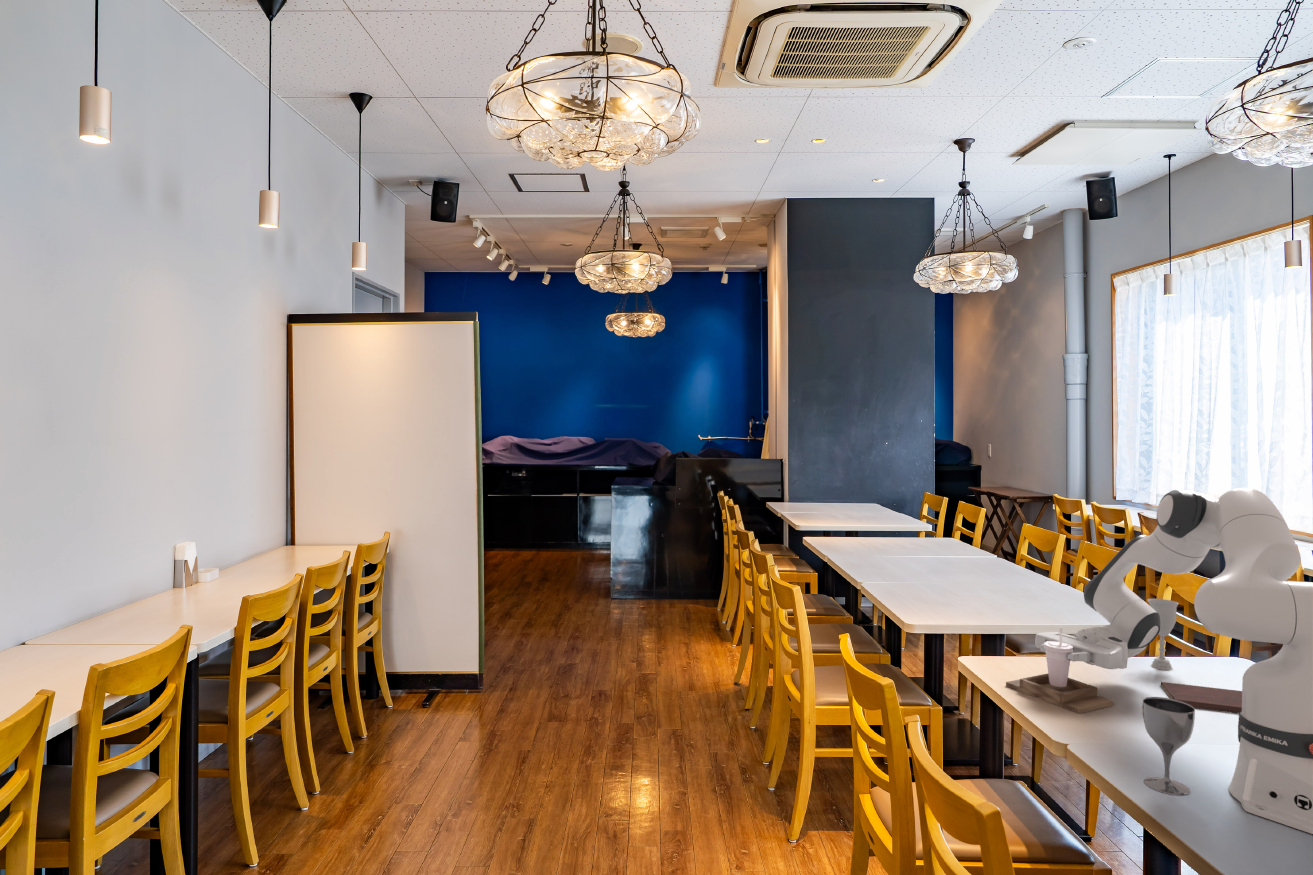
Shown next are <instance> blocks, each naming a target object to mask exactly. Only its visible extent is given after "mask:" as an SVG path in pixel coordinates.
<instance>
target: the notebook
mask: <svg viewBox="0 0 1313 875" xmlns="http://www.w3.org/2000/svg"><path fill="white" fill-rule="evenodd" d="M1160 687H1161V688H1162V689H1163V691H1164V692H1165V693H1166V694H1167V695H1168V697H1169V698H1170V699H1175V700H1178V701H1182V702H1185V703H1187V704H1189V705H1191V706H1193V707H1194V708H1195V709H1199V710H1208V711H1217V712H1224V713H1230V712H1231V713H1232V714H1238V713H1240V712H1242V690H1236V689H1228V688H1227V689H1226V688H1220V687H1218V688H1217V687H1209V686H1202V685H1201V686H1200V685H1191V684H1185V683H1183V684H1182V683H1176V682H1166V681H1160Z"/></svg>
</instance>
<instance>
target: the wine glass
mask: <svg viewBox="0 0 1313 875" xmlns="http://www.w3.org/2000/svg"><path fill="white" fill-rule="evenodd" d="M1141 708H1142V719H1143V723H1144V724H1143V725H1144V727H1145V730H1146V732H1147V734H1148V736H1149V737H1150V738H1151V740H1152V741H1153V742H1154V743H1155V744H1156V745H1157V747H1158V748H1159V749H1160V752H1161V754H1162V757H1163V764H1164V765H1163V766H1164V772H1163V774H1164V776H1162V777H1161V776H1148V777H1145V778H1144V779H1143V783H1144V784H1145V785H1146V786H1147V787H1148V788H1151V789H1152V790H1154V791H1157V792H1159V793H1163V794H1166V795H1171V796H1187V795H1190V794H1191V789H1190V787H1188V786H1187V785H1185V784H1184V783H1182V782H1180V781H1177V780H1175V779H1172V778H1170V774H1171V773H1170V771H1171V762H1172V757H1173V755H1174V754H1175V753H1176V751H1177V750H1179V749H1180V748H1182V747H1183V746H1185V744H1188V742H1189V741H1190V739H1191V738H1192V734H1193V732H1194V731H1193V730H1194V727H1195V719H1196V715H1195V714H1196V708H1194V707H1193V706H1191V705H1189V704H1187V703H1185V702H1182V701H1178V700H1175V699H1171V698H1170V697H1169V698H1168V697H1162V696H1148V697H1143V699H1142V707H1141Z"/></svg>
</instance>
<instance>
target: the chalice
mask: <svg viewBox="0 0 1313 875" xmlns="http://www.w3.org/2000/svg"><path fill="white" fill-rule="evenodd" d="M1147 602H1148V605H1149V606H1151V607H1152V608H1153V609H1154V610H1155V611H1156V612H1157V613H1159V615H1160V619H1161V626H1160V632H1159V634H1158V635H1159V641H1158V643H1159V647H1158V651H1159V655H1158V657H1157V656H1156V657H1155V658H1154V659H1153V661H1152V663H1151V665H1150V667H1152V668H1154V669H1157V670H1161V671H1162V670H1163V671H1172V670H1174V669H1173V666H1172V664H1171V661H1170V660H1169V659H1168V658H1166V656H1165V652H1166V649H1165V645H1166V644H1167V643H1166V641H1165V640H1166V639H1165V637H1167V636H1169V635H1170V633H1171V632H1172V630H1173V629H1174V627H1175V624H1176V622H1177V607H1178V605H1179V604H1180V603H1179V602H1177V601H1174V600H1169V599H1165V598H1147ZM1158 635H1157V636H1158Z"/></svg>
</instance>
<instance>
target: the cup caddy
mask: <svg viewBox="0 0 1313 875" xmlns="http://www.w3.org/2000/svg"><path fill="white" fill-rule="evenodd" d="M1005 686H1006V687H1007V688H1010V689H1013V690H1015V689H1016V691H1018V692H1020V693H1023V692H1024V693H1023V694H1026V695H1029V696H1032V697H1033V698H1037V699H1040V700H1043V701H1045V702H1047V703H1050V704H1052V705H1056V706H1059V707H1062V708H1064V709H1067V710H1069V711H1071V712H1075V713H1078V714H1083V713H1088V712H1091V711H1096V710H1100V709H1104V708H1108V707H1113V706H1114V701H1113V700H1111V699H1108V698H1105V697H1102V696H1100V695H1098V686H1094V685H1092V684H1089V683H1088V684H1087V682H1083V681H1080V680H1076V679H1073V678H1070V677H1068V679H1067V686H1065V687H1057V686H1053V685H1051V684H1050V683H1049V675H1048V673H1044V674H1038V675H1033V676H1028V677H1024V678H1019V679H1014V680H1010V681H1005Z"/></svg>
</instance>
